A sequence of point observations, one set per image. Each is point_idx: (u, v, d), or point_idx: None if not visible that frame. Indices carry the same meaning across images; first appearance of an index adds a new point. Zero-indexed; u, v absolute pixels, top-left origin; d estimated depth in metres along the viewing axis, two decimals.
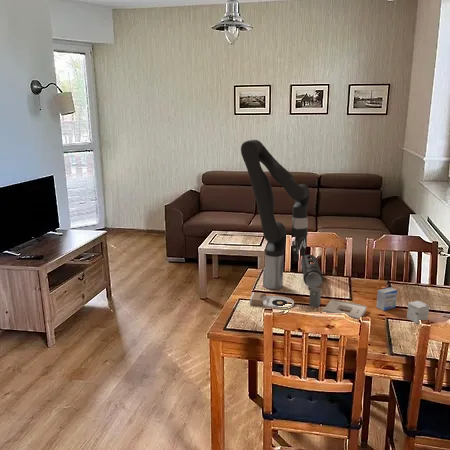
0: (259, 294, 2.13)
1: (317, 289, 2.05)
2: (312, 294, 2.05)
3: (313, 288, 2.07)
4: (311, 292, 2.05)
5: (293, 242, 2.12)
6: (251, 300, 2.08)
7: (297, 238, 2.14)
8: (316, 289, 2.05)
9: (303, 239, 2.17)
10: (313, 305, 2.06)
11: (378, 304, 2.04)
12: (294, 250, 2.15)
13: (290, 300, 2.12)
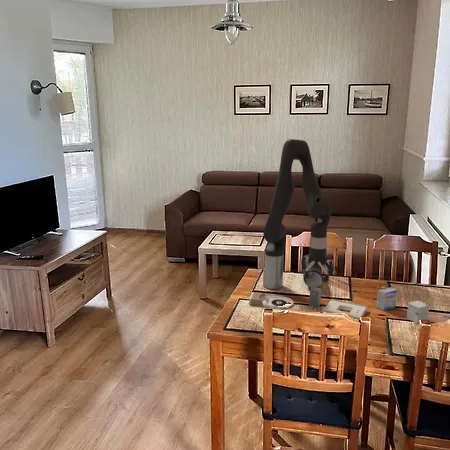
0: (258, 294, 2.13)
1: (317, 289, 2.05)
2: (312, 294, 2.05)
3: (313, 288, 2.07)
4: (311, 292, 2.05)
5: (332, 262, 1.99)
6: (250, 300, 2.08)
7: None
8: (316, 289, 2.05)
9: None
10: (313, 305, 2.06)
11: (378, 304, 2.04)
12: (327, 271, 2.00)
13: (289, 300, 2.12)
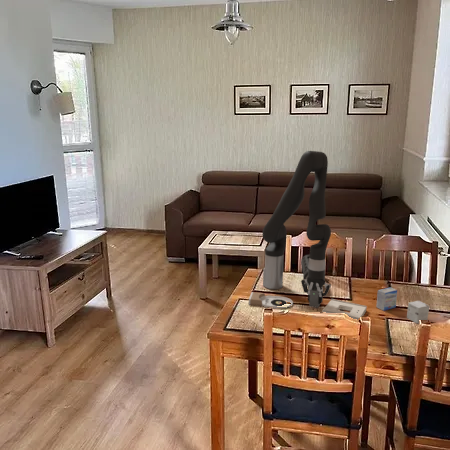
0: (258, 294, 2.13)
1: None
2: (312, 294, 2.05)
3: None
4: (311, 292, 2.05)
5: (329, 286, 2.01)
6: (250, 300, 2.08)
7: (324, 279, 2.03)
8: (316, 289, 2.05)
9: None
10: (313, 305, 2.06)
11: (378, 304, 2.04)
12: (321, 294, 2.04)
13: (289, 300, 2.12)
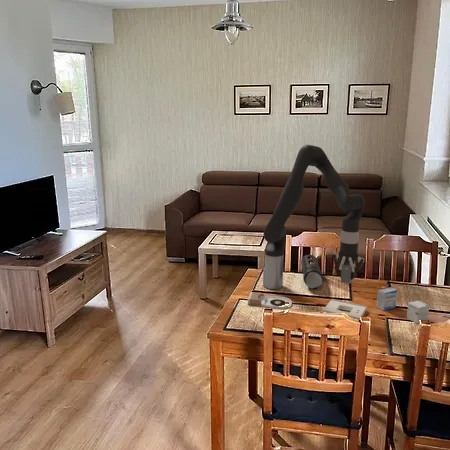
0: (257, 294, 2.13)
1: (349, 264, 1.94)
2: (344, 269, 1.94)
3: (345, 263, 1.95)
4: (343, 267, 1.94)
5: (363, 260, 1.90)
6: (249, 300, 2.08)
7: (357, 253, 1.92)
8: (348, 264, 1.94)
9: None
10: (345, 281, 1.95)
11: (378, 304, 2.04)
12: (354, 269, 1.93)
13: (288, 300, 2.12)
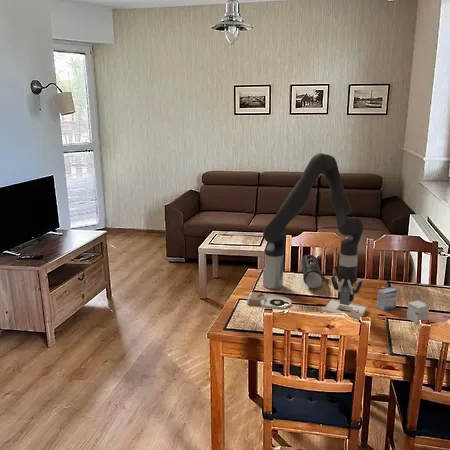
0: (257, 294, 2.13)
1: (348, 286, 1.97)
2: (343, 291, 1.96)
3: None
4: (342, 289, 1.96)
5: (361, 283, 1.93)
6: (248, 300, 2.08)
7: None
8: (347, 286, 1.97)
9: None
10: (344, 303, 1.97)
11: (378, 304, 2.04)
12: (353, 291, 1.95)
13: (287, 300, 2.12)
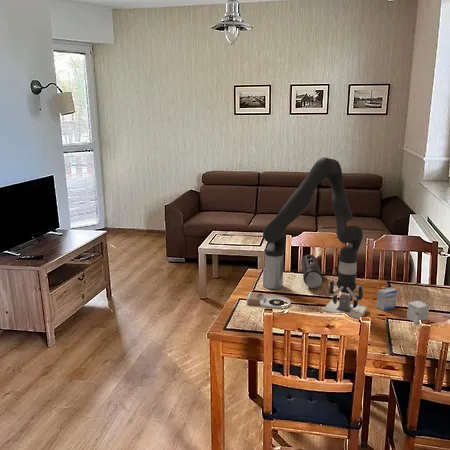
0: (256, 294, 2.14)
1: (347, 296, 1.98)
2: (342, 301, 1.97)
3: (343, 295, 1.99)
4: (341, 299, 1.97)
5: (361, 288, 1.93)
6: (248, 300, 2.08)
7: (355, 283, 1.95)
8: (346, 296, 1.98)
9: None
10: None
11: (378, 304, 2.04)
12: (356, 297, 1.95)
13: (287, 300, 2.12)
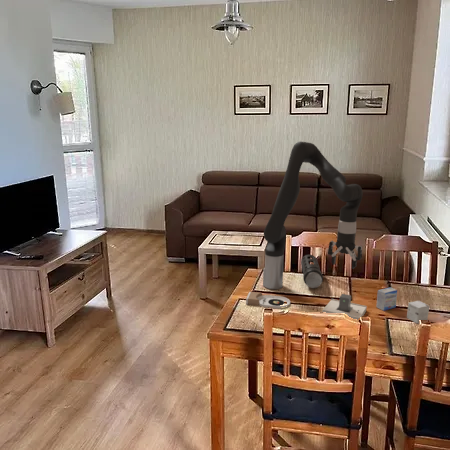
0: (255, 293, 2.14)
1: (347, 296, 1.98)
2: (342, 301, 1.97)
3: (343, 295, 1.99)
4: (341, 299, 1.97)
5: (361, 248, 1.91)
6: (247, 299, 2.08)
7: (354, 243, 1.92)
8: (346, 296, 1.98)
9: None
10: None
11: (378, 304, 2.04)
12: (355, 257, 1.93)
13: (286, 300, 2.12)
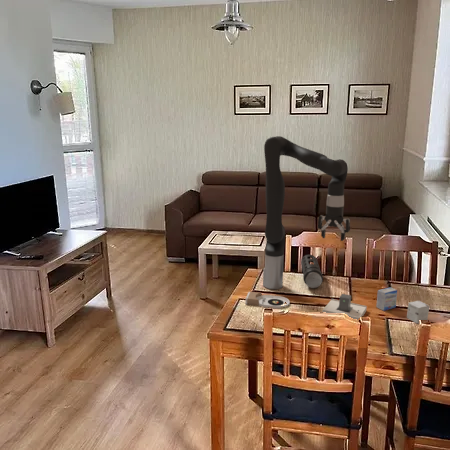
0: (255, 293, 2.14)
1: (347, 296, 1.98)
2: (342, 301, 1.97)
3: (343, 295, 1.99)
4: (341, 299, 1.97)
5: (348, 220, 2.00)
6: (247, 299, 2.08)
7: (342, 216, 2.01)
8: (346, 296, 1.98)
9: None
10: None
11: (378, 304, 2.04)
12: (343, 229, 2.01)
13: (286, 299, 2.12)
